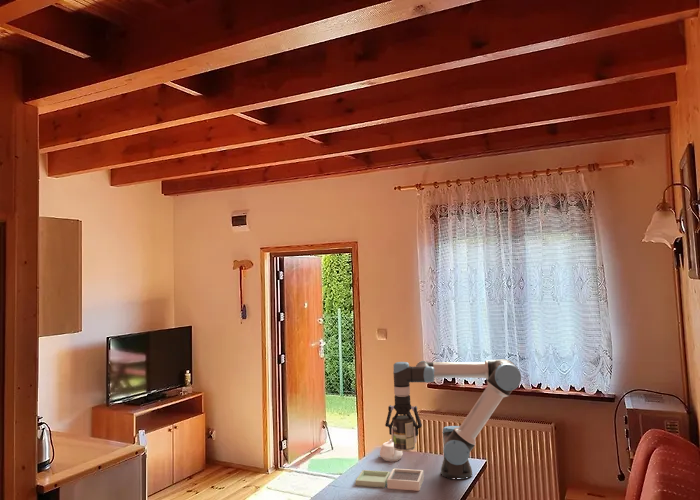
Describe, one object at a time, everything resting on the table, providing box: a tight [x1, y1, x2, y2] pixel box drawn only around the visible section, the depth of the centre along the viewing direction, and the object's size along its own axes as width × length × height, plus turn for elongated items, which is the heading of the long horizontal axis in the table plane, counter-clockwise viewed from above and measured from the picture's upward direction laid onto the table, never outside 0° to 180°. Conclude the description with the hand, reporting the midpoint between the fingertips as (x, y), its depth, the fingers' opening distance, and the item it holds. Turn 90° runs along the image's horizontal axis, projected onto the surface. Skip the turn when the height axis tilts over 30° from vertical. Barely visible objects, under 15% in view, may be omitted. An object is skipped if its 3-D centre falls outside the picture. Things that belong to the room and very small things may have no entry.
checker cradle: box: [386, 468, 425, 492], centre depth 251 cm, size 15×15×4 cm
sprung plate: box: [392, 472, 420, 481], centre depth 252 cm, size 12×12×1 cm
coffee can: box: [391, 415, 416, 452], centre depth 253 cm, size 10×10×14 cm
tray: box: [355, 469, 391, 489], centre depth 256 cm, size 14×14×2 cm
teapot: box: [379, 438, 404, 462], centre depth 287 cm, size 20×12×10 cm, turn 10°
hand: (404, 441), depth 253 cm, fingers closed on coffee can, 10 cm apart
